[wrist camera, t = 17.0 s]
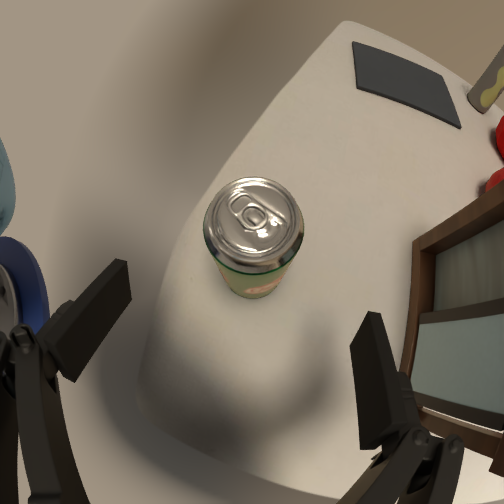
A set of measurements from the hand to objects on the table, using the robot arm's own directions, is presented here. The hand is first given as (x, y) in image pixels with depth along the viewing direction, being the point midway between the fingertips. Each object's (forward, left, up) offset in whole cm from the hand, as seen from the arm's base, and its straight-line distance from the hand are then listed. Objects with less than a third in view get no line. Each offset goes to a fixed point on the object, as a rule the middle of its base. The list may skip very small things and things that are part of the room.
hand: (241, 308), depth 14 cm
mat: (+18, +38, -9) cm, 43 cm away
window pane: (+16, -2, -8) cm, 18 cm away
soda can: (0, +4, -10) cm, 10 cm away
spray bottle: (+35, +42, -10) cm, 55 cm away
